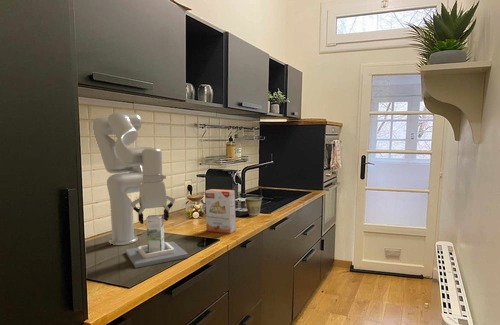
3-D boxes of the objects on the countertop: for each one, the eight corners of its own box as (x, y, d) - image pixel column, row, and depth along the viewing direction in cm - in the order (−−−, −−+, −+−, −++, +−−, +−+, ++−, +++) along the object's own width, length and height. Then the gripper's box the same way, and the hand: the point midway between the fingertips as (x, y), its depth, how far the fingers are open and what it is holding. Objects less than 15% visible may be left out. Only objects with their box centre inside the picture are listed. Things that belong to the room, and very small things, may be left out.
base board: (125, 253, 141) (125, 245, 141) (173, 244, 151) (172, 237, 151) (135, 268, 124) (135, 259, 124) (188, 257, 134) (188, 249, 134)
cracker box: (206, 231, 172) (204, 190, 170) (212, 228, 177) (211, 188, 176) (230, 234, 166) (229, 191, 164) (236, 231, 171) (235, 189, 170)
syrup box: (165, 248, 141) (163, 213, 140) (161, 253, 135) (160, 217, 134) (151, 249, 141) (149, 214, 140) (147, 253, 135) (145, 217, 134)
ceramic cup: (259, 216, 202) (259, 199, 201) (243, 215, 205) (243, 199, 204) (264, 211, 214) (264, 196, 214) (249, 211, 217) (249, 195, 217)
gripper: (171, 176, 143) (172, 216, 145) (128, 179, 135) (129, 222, 136) (176, 178, 137) (177, 220, 138) (131, 182, 128) (133, 226, 130)
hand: (153, 221), depth 137 cm, fingers open, 9 cm apart
